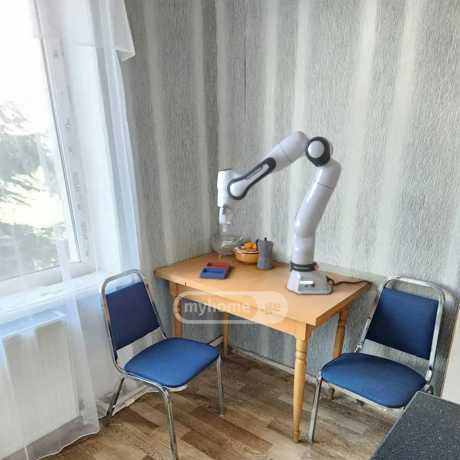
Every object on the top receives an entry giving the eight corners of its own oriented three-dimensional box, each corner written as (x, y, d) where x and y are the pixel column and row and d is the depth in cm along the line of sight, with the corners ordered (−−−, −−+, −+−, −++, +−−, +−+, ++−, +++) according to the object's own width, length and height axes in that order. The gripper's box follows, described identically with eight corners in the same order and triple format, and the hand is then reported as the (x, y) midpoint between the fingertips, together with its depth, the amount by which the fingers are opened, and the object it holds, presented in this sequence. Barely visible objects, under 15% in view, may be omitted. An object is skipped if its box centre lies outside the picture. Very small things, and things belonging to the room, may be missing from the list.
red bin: (230, 267, 233) (230, 262, 232) (227, 272, 225) (227, 267, 224) (208, 266, 235) (208, 261, 234) (204, 271, 227) (204, 266, 226)
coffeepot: (278, 268, 230) (279, 238, 223) (265, 271, 225) (266, 241, 218) (261, 262, 242) (262, 233, 234) (249, 264, 237) (249, 235, 229)
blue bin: (226, 273, 223) (226, 268, 222) (223, 279, 215) (223, 274, 214) (204, 272, 225) (204, 267, 224) (200, 277, 217) (200, 272, 216)
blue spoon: (224, 274, 221) (224, 269, 219) (223, 276, 217) (223, 271, 216) (206, 273, 222) (206, 268, 221) (204, 275, 219) (204, 270, 218)
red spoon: (228, 268, 230) (228, 263, 229) (226, 270, 227) (226, 265, 226) (210, 267, 232) (210, 262, 231) (209, 269, 229) (208, 264, 228)
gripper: (228, 206, 190) (229, 234, 195) (235, 199, 208) (235, 225, 214) (216, 205, 191) (216, 233, 196) (223, 198, 209) (224, 224, 215)
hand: (226, 229), depth 205 cm, fingers open, 8 cm apart
